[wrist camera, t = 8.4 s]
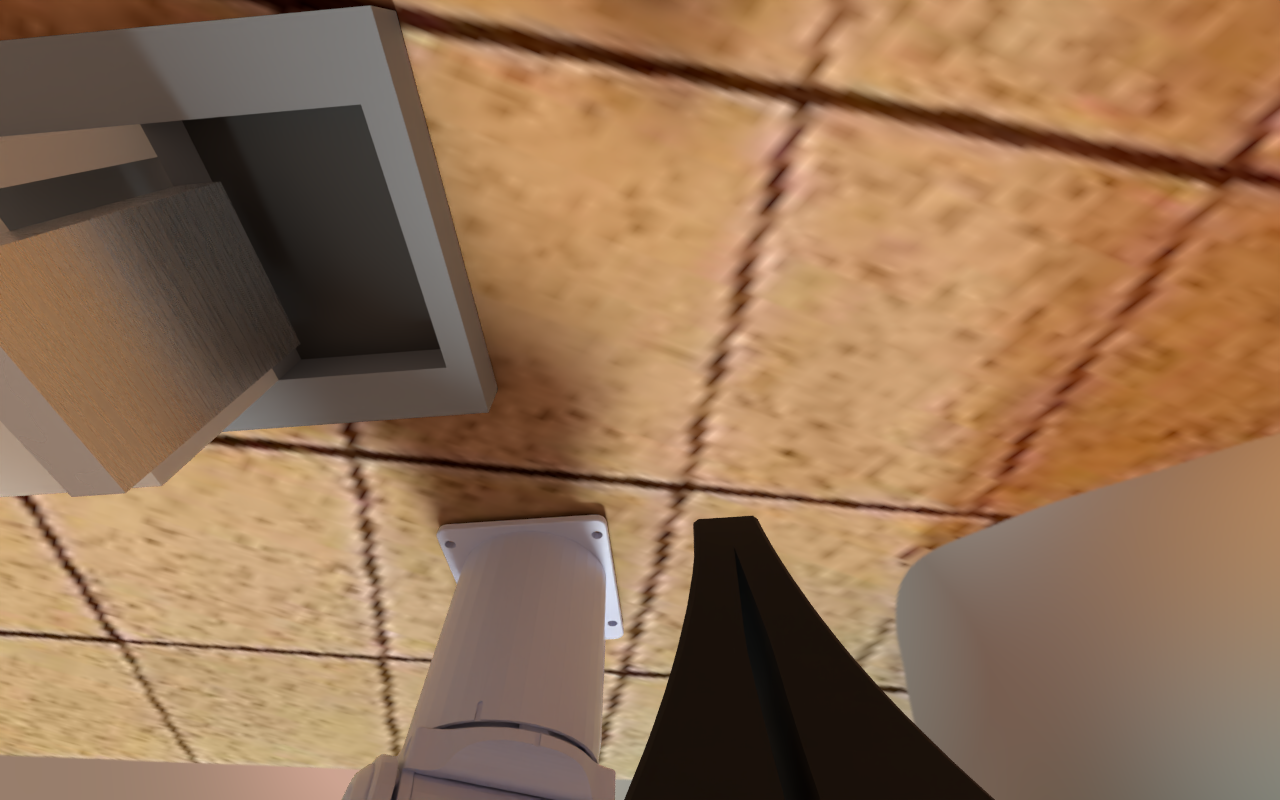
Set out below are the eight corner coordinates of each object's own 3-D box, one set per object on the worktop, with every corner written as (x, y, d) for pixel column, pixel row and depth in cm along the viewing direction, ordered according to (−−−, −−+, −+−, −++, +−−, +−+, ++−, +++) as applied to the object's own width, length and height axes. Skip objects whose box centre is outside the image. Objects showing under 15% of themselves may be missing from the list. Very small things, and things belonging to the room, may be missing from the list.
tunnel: (278, 380, 18) (161, 485, 14) (113, 392, 18) (-57, 501, 14) (140, 123, 14) (-101, 154, 9) (-76, 143, 14) (-417, 182, 9)
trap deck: (497, 389, 20) (488, 412, 19) (-48, 429, 21) (-95, 454, 20) (395, 11, 14) (370, 5, 12) (-397, 85, 14) (-502, 88, 13)
